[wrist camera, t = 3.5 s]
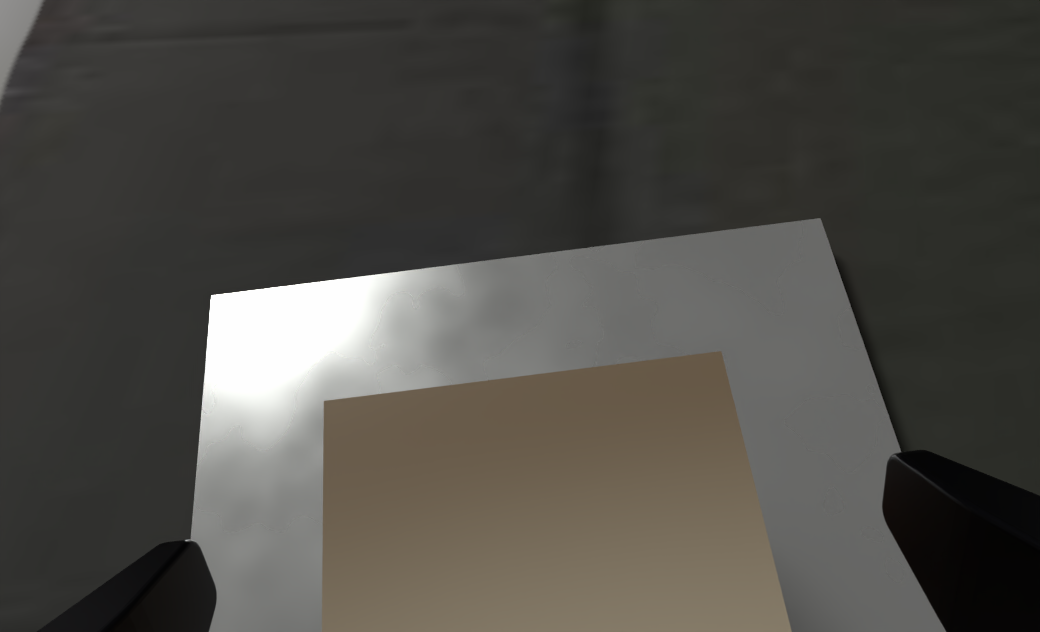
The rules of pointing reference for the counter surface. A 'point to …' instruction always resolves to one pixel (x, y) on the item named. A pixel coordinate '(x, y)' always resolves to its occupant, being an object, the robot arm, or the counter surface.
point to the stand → (551, 348)
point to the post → (547, 506)
